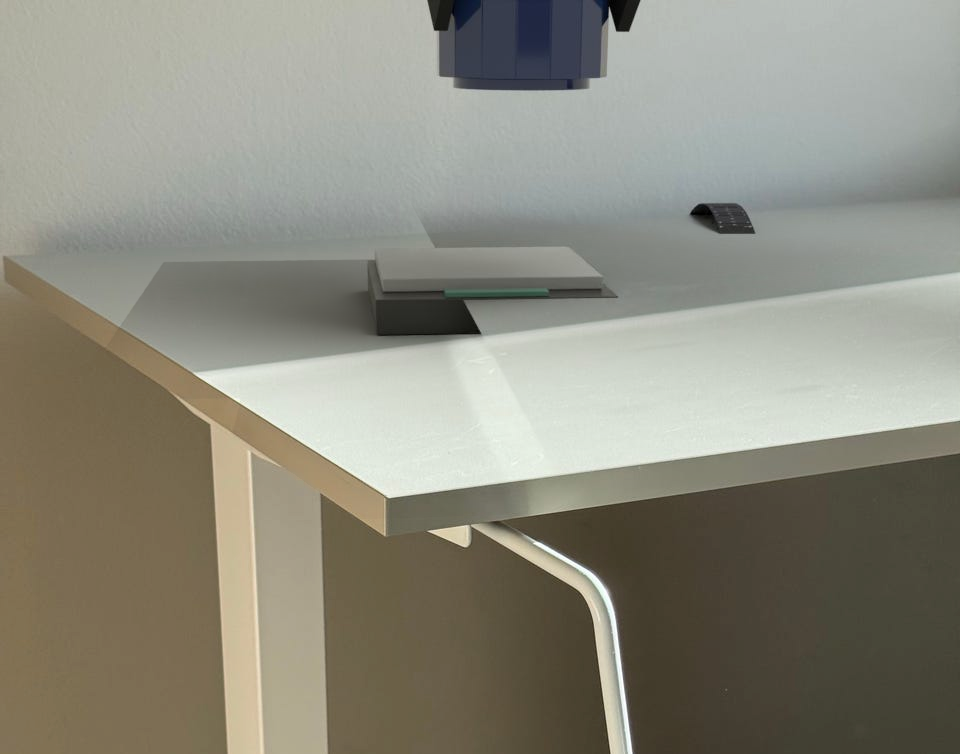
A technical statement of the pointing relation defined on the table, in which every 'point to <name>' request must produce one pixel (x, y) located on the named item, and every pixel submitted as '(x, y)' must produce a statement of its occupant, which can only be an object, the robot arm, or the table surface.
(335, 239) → the table surface
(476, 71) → the faceted navy pot
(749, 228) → the black curved arch
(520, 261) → the scale
